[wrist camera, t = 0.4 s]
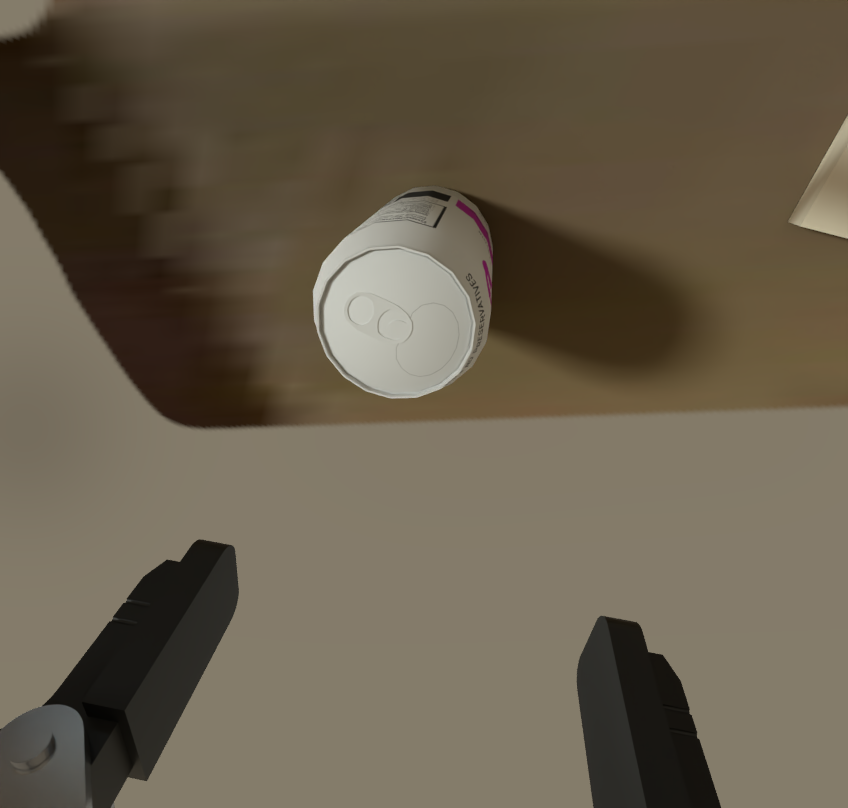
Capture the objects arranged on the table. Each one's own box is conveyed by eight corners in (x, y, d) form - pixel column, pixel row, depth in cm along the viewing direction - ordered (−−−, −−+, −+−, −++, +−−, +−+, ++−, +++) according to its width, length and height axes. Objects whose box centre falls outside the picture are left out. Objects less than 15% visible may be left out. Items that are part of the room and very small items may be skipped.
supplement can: (514, 218, 34) (526, 285, 21) (458, 325, 38) (438, 436, 25) (401, 161, 33) (339, 192, 20) (357, 276, 37) (280, 365, 24)
